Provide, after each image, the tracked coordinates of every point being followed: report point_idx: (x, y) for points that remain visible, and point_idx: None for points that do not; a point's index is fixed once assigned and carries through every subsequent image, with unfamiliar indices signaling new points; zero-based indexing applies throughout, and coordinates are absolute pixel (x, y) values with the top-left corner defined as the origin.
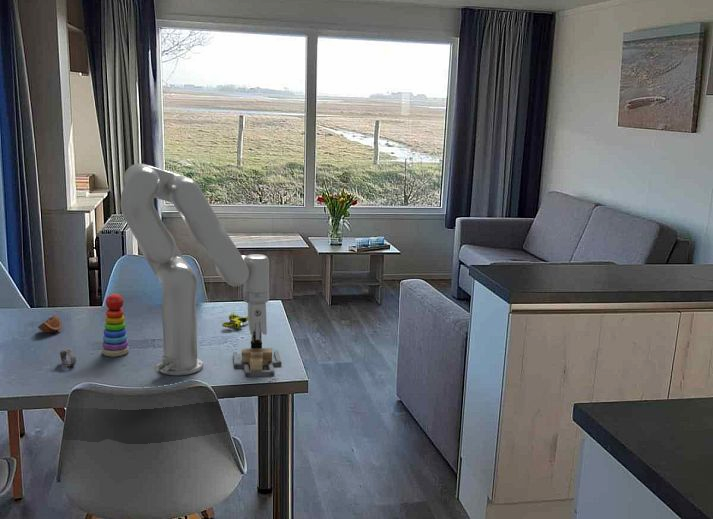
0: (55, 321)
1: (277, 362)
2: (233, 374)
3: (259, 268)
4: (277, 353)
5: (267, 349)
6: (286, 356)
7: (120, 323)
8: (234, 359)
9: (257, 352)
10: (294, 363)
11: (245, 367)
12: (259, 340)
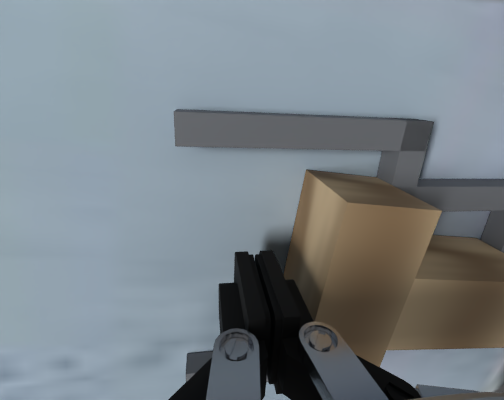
0: None
1: (425, 150)
2: (423, 350)
3: None
4: (251, 127)
5: (365, 243)
6: (239, 44)
7: None
8: None
9: (403, 312)
10: (401, 6)
11: None
12: (372, 366)
